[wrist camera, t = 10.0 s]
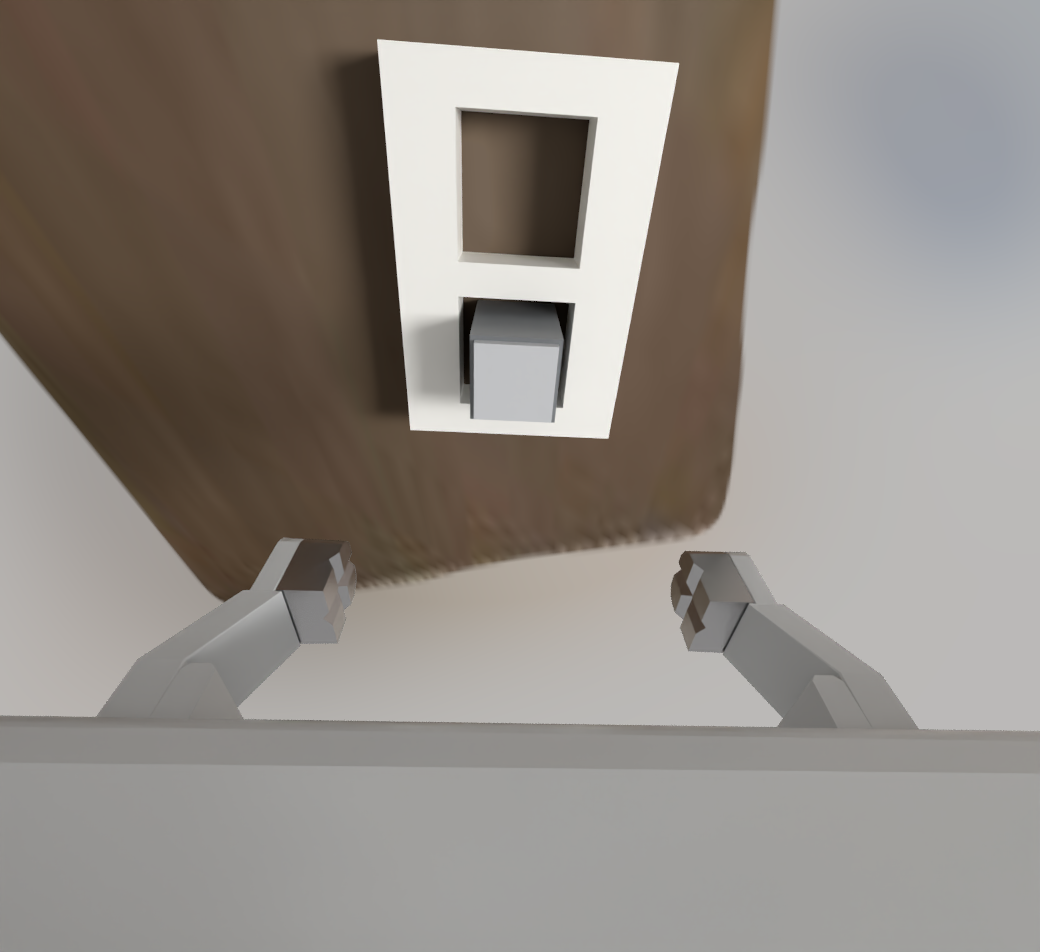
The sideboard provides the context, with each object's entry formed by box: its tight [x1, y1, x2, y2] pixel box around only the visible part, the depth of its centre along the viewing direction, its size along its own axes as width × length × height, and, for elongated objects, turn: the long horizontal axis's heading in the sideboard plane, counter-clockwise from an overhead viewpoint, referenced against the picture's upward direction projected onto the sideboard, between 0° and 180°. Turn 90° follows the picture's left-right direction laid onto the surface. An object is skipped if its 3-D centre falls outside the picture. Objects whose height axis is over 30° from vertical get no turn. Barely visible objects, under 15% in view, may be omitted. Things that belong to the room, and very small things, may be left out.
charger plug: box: [470, 300, 564, 423], centre depth 23 cm, size 4×4×6 cm
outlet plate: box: [377, 39, 679, 439], centre depth 23 cm, size 16×11×2 cm
